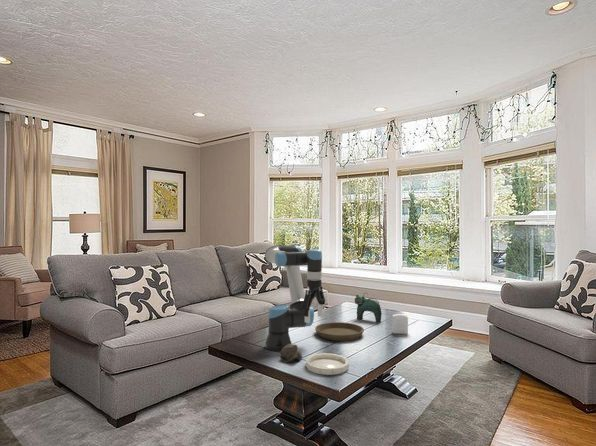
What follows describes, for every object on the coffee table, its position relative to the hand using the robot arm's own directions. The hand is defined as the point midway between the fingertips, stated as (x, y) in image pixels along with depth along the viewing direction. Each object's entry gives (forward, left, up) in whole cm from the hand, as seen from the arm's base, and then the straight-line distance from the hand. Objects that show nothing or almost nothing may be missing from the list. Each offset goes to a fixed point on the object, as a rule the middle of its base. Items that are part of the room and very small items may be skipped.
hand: (313, 319), depth 196 cm
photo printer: (+19, +72, -21) cm, 77 cm away
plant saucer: (-11, +46, -21) cm, 52 cm away
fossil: (-9, -9, -21) cm, 25 cm away
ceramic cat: (-12, +90, -21) cm, 93 cm away
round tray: (+11, -4, -21) cm, 24 cm away
